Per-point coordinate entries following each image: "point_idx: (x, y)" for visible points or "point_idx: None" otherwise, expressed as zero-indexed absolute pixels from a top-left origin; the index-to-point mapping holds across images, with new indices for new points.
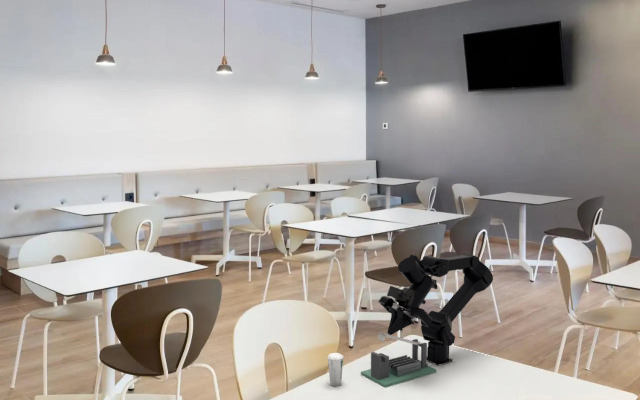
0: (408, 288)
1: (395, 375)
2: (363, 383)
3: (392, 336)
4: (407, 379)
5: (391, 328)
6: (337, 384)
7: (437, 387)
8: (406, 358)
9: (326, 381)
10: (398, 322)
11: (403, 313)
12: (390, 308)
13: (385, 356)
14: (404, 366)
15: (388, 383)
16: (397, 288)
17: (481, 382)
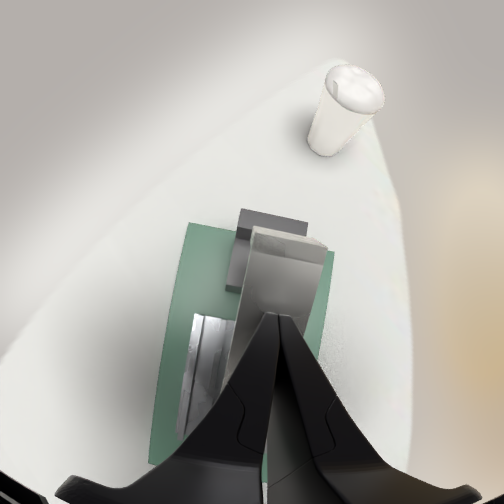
0: None
1: (212, 316)
2: (269, 201)
3: (235, 325)
4: (166, 332)
5: (264, 342)
6: (309, 131)
7: (68, 352)
8: None
9: (355, 142)
10: (207, 415)
11: (78, 484)
12: (452, 495)
13: (240, 271)
14: (190, 355)
15: (186, 240)
16: None
17: (29, 453)
